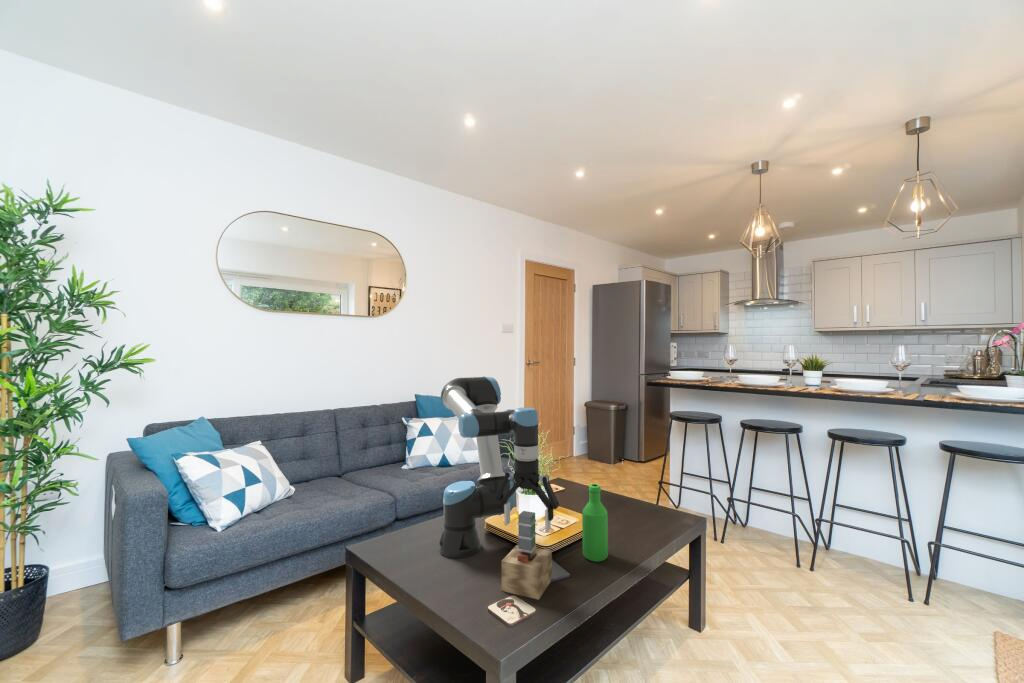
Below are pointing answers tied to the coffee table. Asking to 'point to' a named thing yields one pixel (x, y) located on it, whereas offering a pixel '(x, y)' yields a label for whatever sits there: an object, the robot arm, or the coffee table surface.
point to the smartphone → (558, 572)
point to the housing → (526, 573)
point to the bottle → (595, 527)
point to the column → (527, 534)
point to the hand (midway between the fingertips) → (527, 527)
